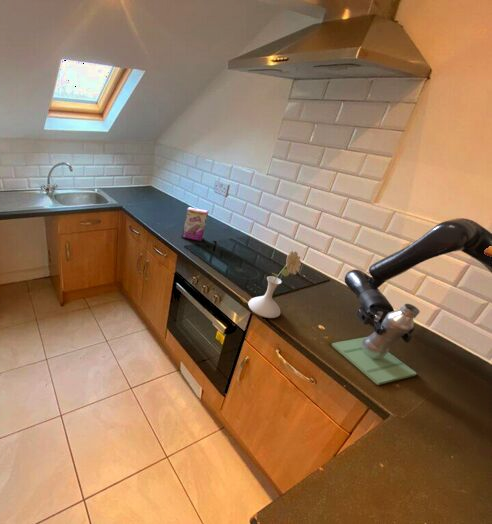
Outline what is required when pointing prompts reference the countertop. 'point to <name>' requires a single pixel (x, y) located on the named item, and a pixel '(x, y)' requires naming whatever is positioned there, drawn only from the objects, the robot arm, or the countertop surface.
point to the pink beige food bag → (195, 223)
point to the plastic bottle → (390, 331)
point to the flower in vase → (265, 303)
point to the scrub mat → (373, 362)
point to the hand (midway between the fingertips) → (394, 336)
